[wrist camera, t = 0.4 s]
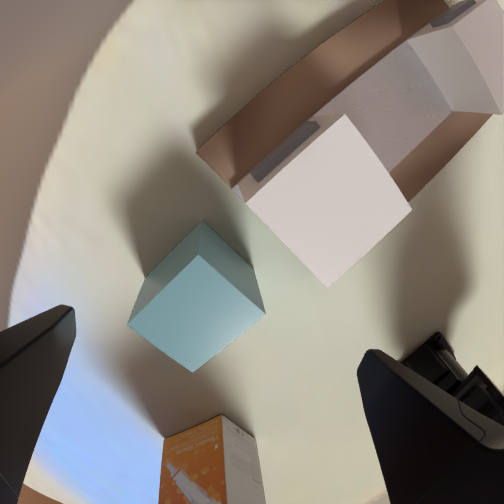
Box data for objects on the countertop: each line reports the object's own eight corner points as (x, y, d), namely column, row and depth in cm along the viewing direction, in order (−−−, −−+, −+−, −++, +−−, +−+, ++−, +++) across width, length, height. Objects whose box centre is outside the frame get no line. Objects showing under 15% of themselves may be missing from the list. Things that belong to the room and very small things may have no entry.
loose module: (253, 268, 23) (265, 314, 18) (195, 319, 24) (192, 372, 19) (202, 220, 21) (198, 254, 16) (145, 277, 22) (126, 324, 17)
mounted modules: (489, 73, 17) (535, 73, 12) (302, 251, 21) (326, 287, 16) (446, 4, 15) (490, -10, 10) (232, 178, 19) (238, 196, 14)
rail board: (491, 101, 20) (503, 101, 18) (315, 272, 24) (321, 281, 22) (415, -18, 16) (425, -24, 14) (197, 150, 20) (195, 152, 18)
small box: (221, 411, 28) (230, 533, 16) (257, 438, 31) (275, 544, 19) (161, 437, 29) (154, 544, 17) (199, 461, 32) (202, 558, 20)
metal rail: (488, 71, 17) (492, 70, 17) (294, 253, 21) (296, 256, 21) (449, 7, 15) (452, 6, 15) (231, 187, 19) (231, 189, 19)
